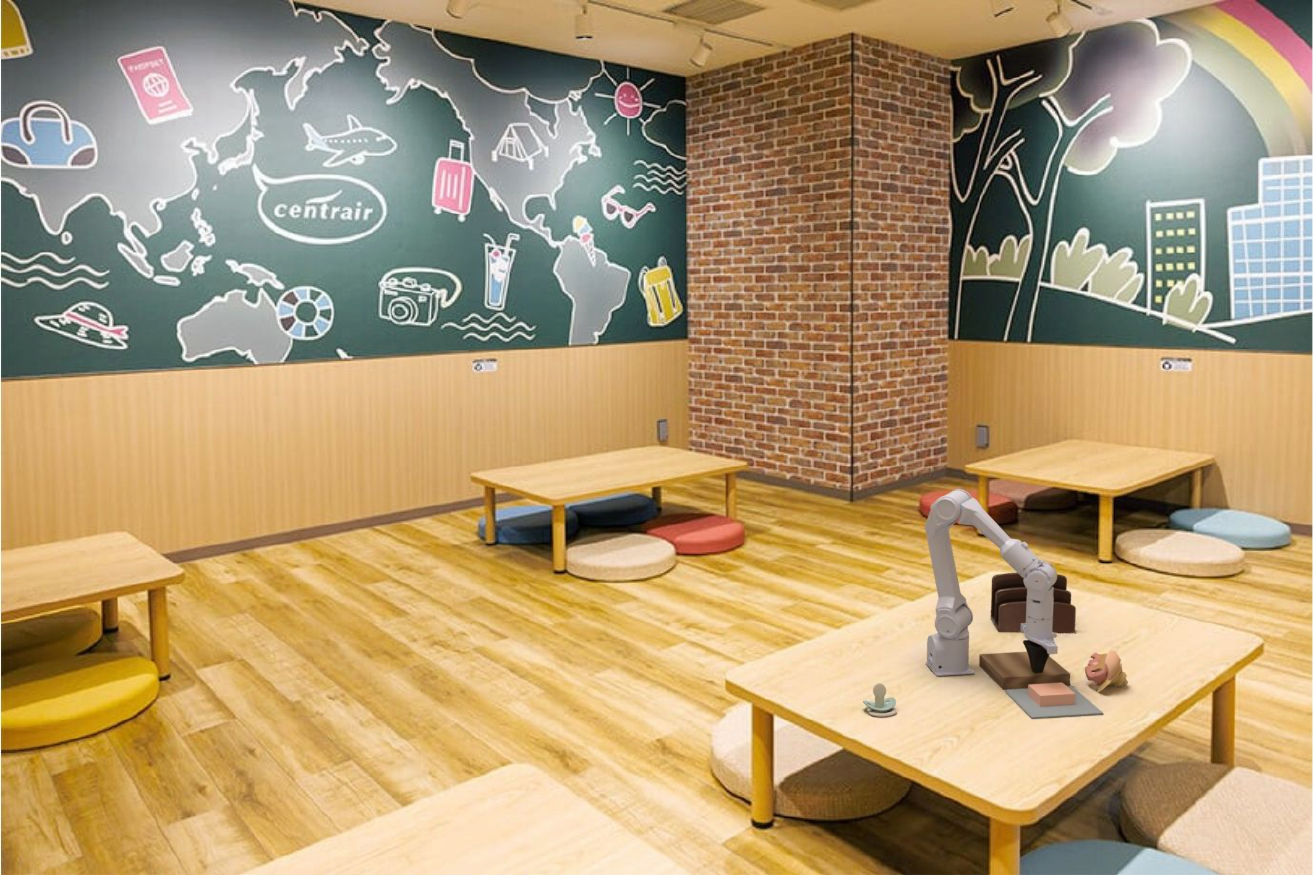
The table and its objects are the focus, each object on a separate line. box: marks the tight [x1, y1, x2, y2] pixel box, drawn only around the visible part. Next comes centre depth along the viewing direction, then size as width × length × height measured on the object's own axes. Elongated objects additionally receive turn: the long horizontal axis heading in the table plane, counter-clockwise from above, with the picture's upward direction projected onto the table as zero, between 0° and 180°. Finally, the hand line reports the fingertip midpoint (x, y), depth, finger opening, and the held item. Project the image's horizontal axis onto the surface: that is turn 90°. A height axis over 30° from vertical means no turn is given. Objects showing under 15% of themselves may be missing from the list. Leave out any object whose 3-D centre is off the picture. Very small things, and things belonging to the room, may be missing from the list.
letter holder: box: [990, 572, 1077, 634], centre depth 263 cm, size 10×20×14 cm, turn 83°
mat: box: [1004, 685, 1104, 720], centre depth 218 cm, size 16×14×1 cm
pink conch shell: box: [1084, 649, 1129, 693], centre depth 225 cm, size 9×10×10 cm
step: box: [978, 651, 1071, 691], centre depth 233 cm, size 16×14×3 cm
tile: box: [1027, 683, 1075, 706], centre depth 219 cm, size 8×6×2 cm
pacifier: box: [862, 682, 898, 718], centre depth 216 cm, size 7×6×6 cm
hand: (1037, 671), depth 226 cm, fingers closed
